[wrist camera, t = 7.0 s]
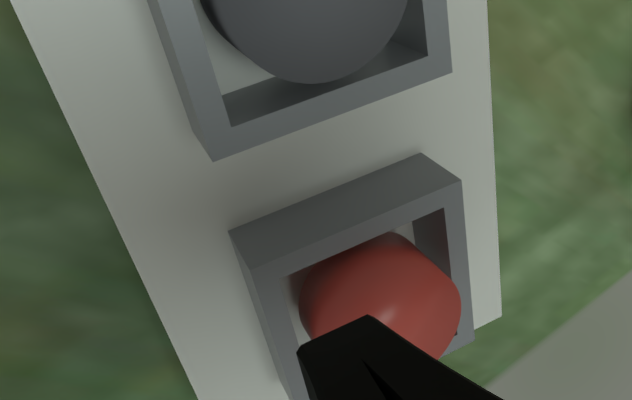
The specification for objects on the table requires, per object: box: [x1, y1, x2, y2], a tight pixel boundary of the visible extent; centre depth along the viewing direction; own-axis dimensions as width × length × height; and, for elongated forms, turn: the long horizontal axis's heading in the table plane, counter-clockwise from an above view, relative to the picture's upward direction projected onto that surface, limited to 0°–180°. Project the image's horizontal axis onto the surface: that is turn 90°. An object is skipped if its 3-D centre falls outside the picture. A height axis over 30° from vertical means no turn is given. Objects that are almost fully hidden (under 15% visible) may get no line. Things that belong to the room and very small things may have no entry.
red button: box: [298, 231, 461, 360], centre depth 16 cm, size 4×4×2 cm
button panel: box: [10, 0, 502, 400], centre depth 16 cm, size 11×19×5 cm, turn 13°
